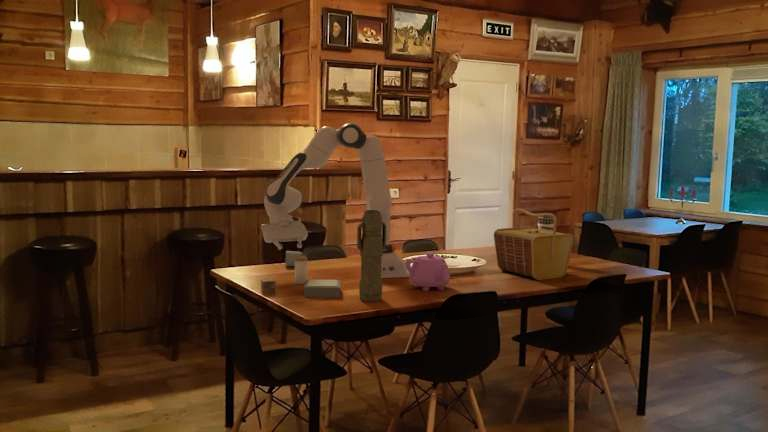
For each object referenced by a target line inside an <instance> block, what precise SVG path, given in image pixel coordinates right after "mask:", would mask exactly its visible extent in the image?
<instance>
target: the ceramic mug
mask: <svg viewBox="0 0 768 432" xmlns="http://www.w3.org/2000/svg"><path fill="white" fill-rule="evenodd" d="M295 257H304V254H303V252H301V251H297V250H296V251H294V250H293V251H292V250H286V251H285V259H284V260H285V261H284V262H285V264H284V266H285V268H289V267H290V268H295Z"/></svg>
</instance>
